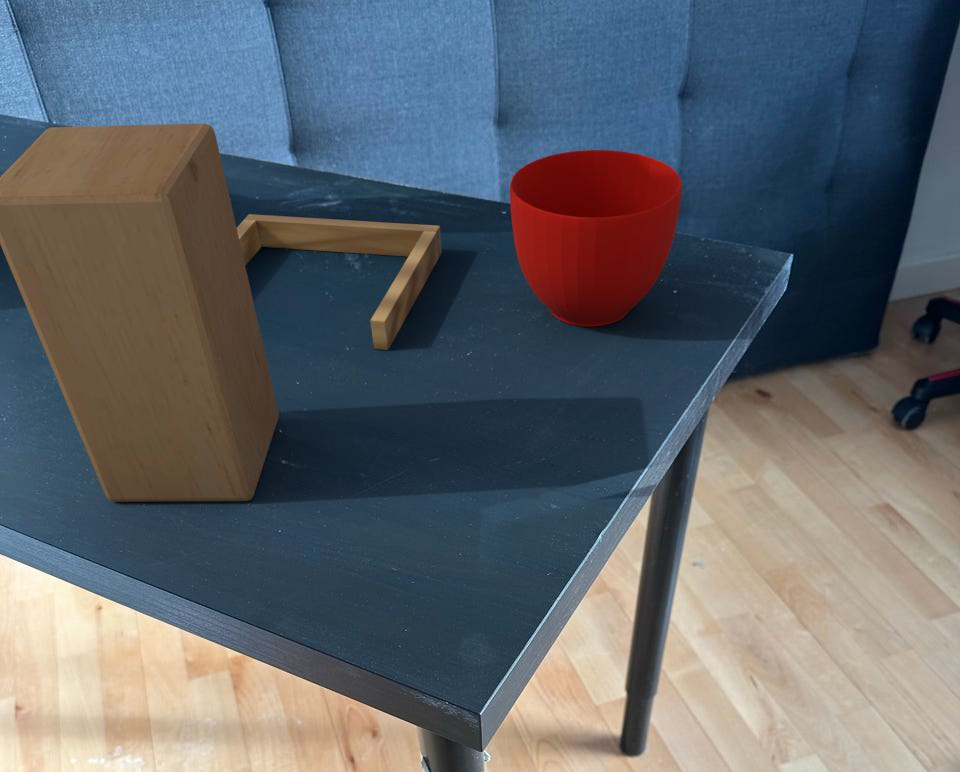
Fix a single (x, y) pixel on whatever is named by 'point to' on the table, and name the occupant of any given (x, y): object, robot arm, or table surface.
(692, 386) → the table surface
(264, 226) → the frame
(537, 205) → the ceramic cup
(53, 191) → the wooden block
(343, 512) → the table surface
